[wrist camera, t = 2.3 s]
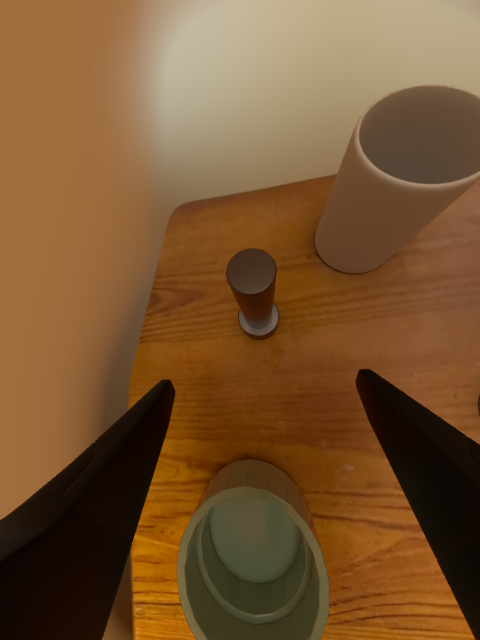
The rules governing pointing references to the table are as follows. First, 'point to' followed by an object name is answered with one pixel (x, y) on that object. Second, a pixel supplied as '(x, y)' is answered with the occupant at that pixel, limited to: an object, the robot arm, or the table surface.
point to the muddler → (254, 291)
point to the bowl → (252, 559)
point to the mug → (399, 174)
